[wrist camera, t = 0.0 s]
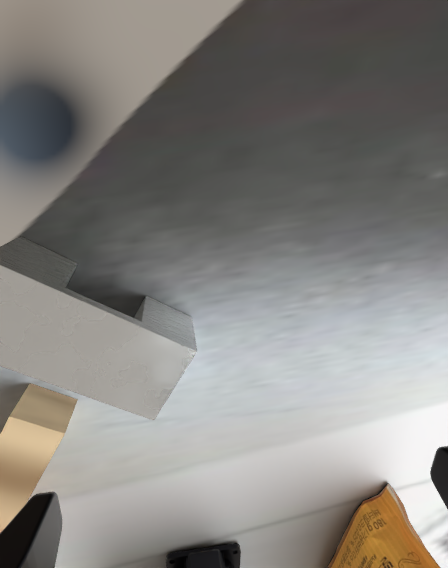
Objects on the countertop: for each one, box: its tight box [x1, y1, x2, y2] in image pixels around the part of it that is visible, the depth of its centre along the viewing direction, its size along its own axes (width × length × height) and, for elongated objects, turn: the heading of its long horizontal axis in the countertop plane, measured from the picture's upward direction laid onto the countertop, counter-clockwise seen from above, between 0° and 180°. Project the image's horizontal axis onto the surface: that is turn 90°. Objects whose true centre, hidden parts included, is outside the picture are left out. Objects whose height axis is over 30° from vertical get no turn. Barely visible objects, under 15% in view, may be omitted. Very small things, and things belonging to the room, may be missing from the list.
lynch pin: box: [0, 383, 77, 533], centre depth 21 cm, size 10×5×5 cm, turn 149°
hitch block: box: [0, 236, 197, 420], centre depth 19 cm, size 5×11×4 cm, turn 59°
